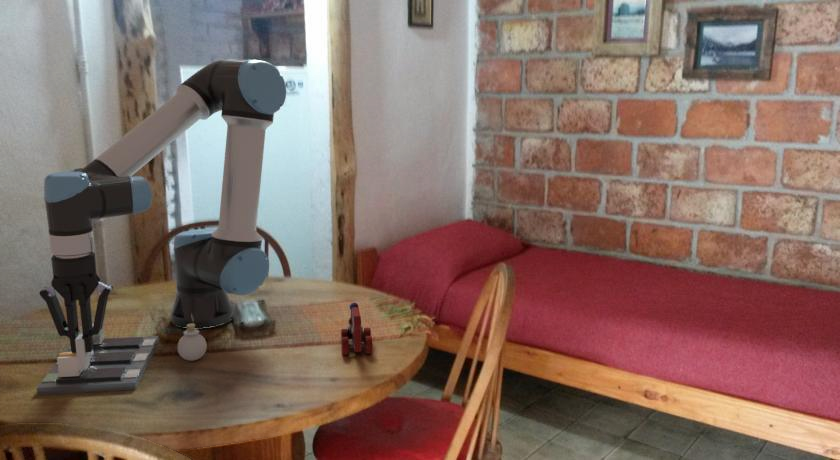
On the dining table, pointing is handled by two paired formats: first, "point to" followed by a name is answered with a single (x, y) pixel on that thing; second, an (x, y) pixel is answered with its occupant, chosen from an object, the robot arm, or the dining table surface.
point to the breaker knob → (68, 364)
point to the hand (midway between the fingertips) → (84, 366)
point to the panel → (105, 366)
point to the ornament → (191, 344)
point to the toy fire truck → (356, 334)
